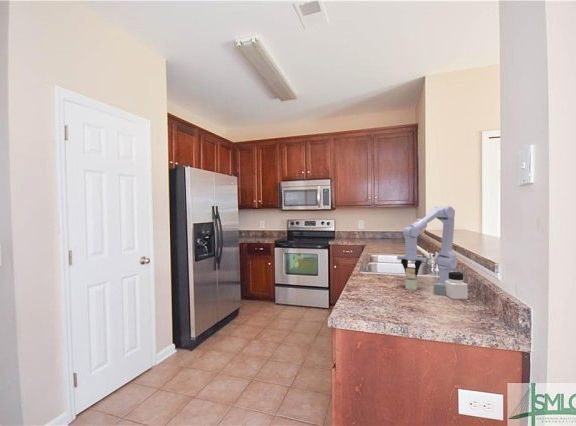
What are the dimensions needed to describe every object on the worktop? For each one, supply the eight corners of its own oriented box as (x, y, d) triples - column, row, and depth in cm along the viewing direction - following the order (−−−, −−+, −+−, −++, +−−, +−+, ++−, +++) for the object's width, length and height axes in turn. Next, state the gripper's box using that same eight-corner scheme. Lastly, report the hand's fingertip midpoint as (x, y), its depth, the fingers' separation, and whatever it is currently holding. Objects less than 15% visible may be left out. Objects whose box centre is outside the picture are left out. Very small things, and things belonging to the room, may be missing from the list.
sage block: (408, 286, 154) (408, 277, 154) (417, 288, 151) (417, 278, 151) (405, 288, 150) (405, 279, 150) (415, 290, 147) (415, 280, 147)
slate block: (433, 292, 143) (433, 282, 143) (443, 293, 141) (443, 283, 141) (434, 294, 139) (434, 284, 139) (444, 295, 137) (444, 285, 137)
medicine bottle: (468, 299, 131) (467, 273, 131) (452, 299, 131) (452, 273, 131) (459, 294, 138) (458, 270, 138) (444, 294, 138) (444, 270, 138)
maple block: (408, 276, 154) (408, 266, 154) (417, 277, 151) (416, 267, 151) (405, 277, 150) (405, 268, 150) (414, 278, 147) (414, 269, 147)
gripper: (394, 248, 152) (395, 273, 152) (423, 250, 143) (424, 277, 143) (399, 247, 158) (399, 271, 158) (427, 249, 149) (427, 274, 149)
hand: (411, 274), depth 151 cm, fingers closed on maple block, 4 cm apart
